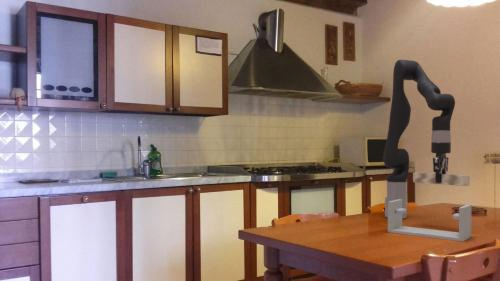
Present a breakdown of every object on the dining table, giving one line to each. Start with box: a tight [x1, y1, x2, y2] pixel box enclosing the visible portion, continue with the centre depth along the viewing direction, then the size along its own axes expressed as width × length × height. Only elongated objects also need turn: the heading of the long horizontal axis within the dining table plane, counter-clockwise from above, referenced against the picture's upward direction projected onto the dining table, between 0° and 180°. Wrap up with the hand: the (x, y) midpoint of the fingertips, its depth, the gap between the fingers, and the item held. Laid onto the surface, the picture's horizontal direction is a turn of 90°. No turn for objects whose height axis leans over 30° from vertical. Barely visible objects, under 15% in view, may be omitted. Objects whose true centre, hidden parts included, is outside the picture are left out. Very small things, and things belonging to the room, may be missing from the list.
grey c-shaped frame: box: [387, 199, 472, 242], centre depth 182 cm, size 28×12×12 cm, turn 52°
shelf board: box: [412, 172, 471, 187], centre depth 195 cm, size 22×5×4 cm, turn 39°
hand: (440, 182), depth 195 cm, fingers closed on shelf board, 5 cm apart
